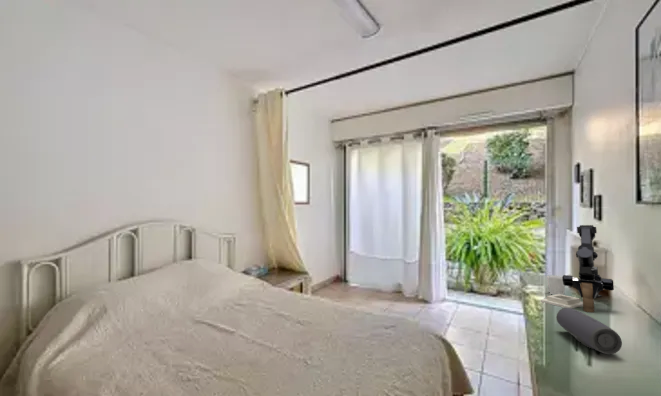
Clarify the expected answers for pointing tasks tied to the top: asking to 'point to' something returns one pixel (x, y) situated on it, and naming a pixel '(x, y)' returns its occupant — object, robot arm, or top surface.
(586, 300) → the dowel
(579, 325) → the bluetooth speaker
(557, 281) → the white cup
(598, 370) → the top surface
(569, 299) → the socket
